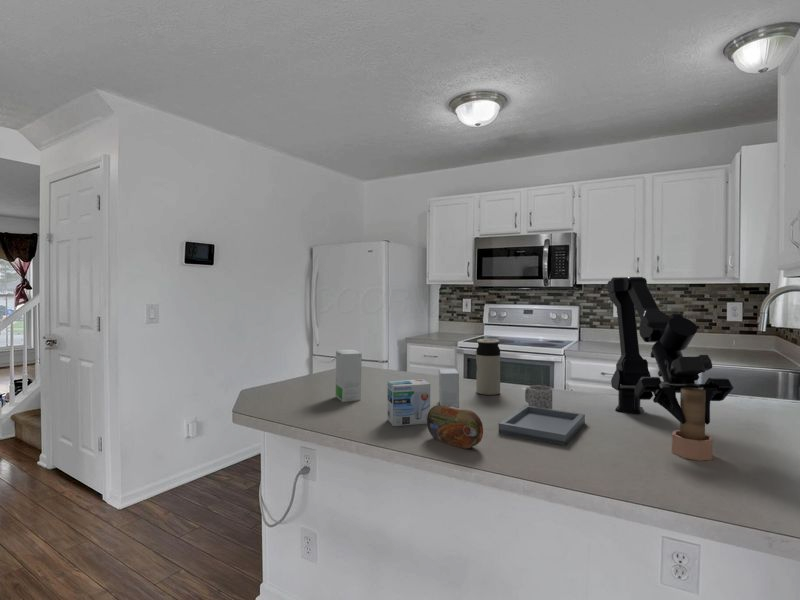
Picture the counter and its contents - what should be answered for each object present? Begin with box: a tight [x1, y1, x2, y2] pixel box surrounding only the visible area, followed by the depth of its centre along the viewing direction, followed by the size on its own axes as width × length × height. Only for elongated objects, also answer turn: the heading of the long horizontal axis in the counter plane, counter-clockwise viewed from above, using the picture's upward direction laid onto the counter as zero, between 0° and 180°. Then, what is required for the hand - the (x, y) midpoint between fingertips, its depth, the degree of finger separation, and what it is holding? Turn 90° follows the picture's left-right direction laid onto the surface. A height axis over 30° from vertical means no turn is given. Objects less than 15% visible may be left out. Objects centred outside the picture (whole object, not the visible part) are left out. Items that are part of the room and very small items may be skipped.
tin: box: [426, 404, 484, 449], centre depth 105 cm, size 15×3×8 cm, turn 45°
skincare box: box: [334, 348, 362, 403], centre depth 146 cm, size 8×7×16 cm
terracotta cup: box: [671, 429, 714, 462], centre depth 97 cm, size 7×7×4 cm
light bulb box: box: [387, 378, 431, 427], centre depth 121 cm, size 11×7×11 cm, turn 105°
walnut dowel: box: [679, 387, 706, 441], centre depth 97 cm, size 4×4×14 cm
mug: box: [524, 385, 553, 409], centre depth 133 cm, size 10×7×7 cm, turn 22°
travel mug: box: [475, 338, 501, 396], centre depth 153 cm, size 8×8×18 cm
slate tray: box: [498, 404, 586, 447], centre depth 115 cm, size 20×16×2 cm
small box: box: [438, 368, 460, 408], centre depth 138 cm, size 8×6×10 cm
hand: (695, 423), depth 95 cm, fingers closed on walnut dowel, 4 cm apart
